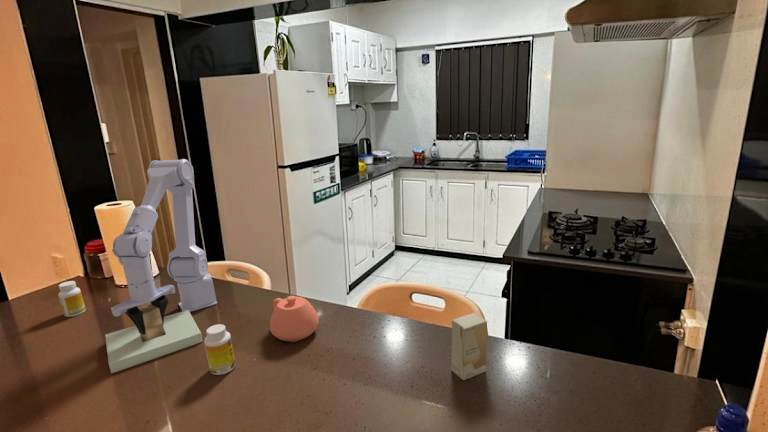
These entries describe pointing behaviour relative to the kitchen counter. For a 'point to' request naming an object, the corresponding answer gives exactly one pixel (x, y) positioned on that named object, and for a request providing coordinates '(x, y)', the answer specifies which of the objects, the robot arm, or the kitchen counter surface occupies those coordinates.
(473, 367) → the skincare box
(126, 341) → the socket board
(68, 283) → the supplement bottle
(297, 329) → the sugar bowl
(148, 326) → the oak peg
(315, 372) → the kitchen counter surface
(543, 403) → the kitchen counter surface
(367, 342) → the kitchen counter surface
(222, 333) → the supplement bottle
